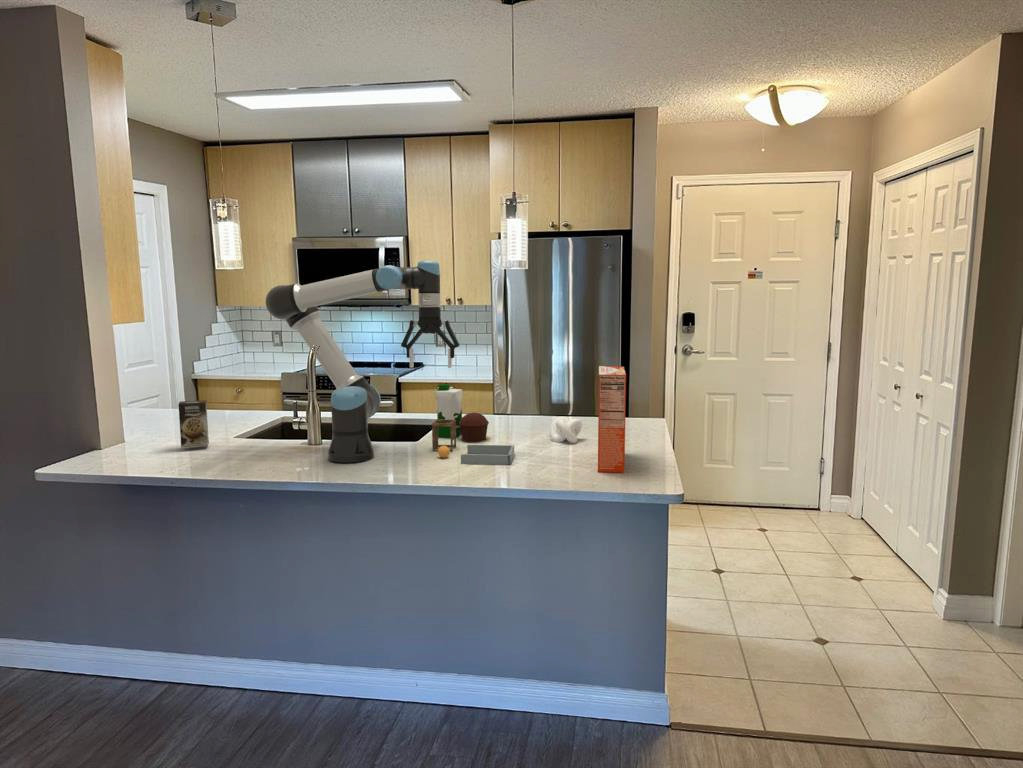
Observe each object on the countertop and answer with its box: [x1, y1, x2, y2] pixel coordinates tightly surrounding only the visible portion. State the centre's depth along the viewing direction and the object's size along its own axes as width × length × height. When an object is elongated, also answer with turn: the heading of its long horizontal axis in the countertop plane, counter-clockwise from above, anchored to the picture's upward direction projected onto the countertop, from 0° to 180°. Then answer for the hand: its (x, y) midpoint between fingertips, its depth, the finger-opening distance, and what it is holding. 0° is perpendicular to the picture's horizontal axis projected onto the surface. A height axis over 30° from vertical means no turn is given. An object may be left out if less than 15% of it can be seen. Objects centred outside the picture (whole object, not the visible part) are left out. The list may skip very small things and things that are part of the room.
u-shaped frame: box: [460, 444, 515, 466], centre depth 223 cm, size 16×14×3 cm
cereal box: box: [597, 365, 627, 473], centre depth 215 cm, size 23×8×30 cm, turn 173°
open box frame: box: [431, 418, 457, 453], centre depth 236 cm, size 7×7×10 cm
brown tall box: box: [178, 400, 210, 449], centre depth 244 cm, size 9×6×16 cm
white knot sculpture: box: [549, 416, 583, 444], centre depth 247 cm, size 11×12×9 cm
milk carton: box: [435, 383, 463, 439], centre depth 256 cm, size 9×9×20 cm
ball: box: [437, 446, 451, 459], centre depth 225 cm, size 4×4×4 cm
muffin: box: [459, 412, 490, 443], centre depth 251 cm, size 12×11×10 cm
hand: (430, 367), depth 236 cm, fingers open, 13 cm apart
